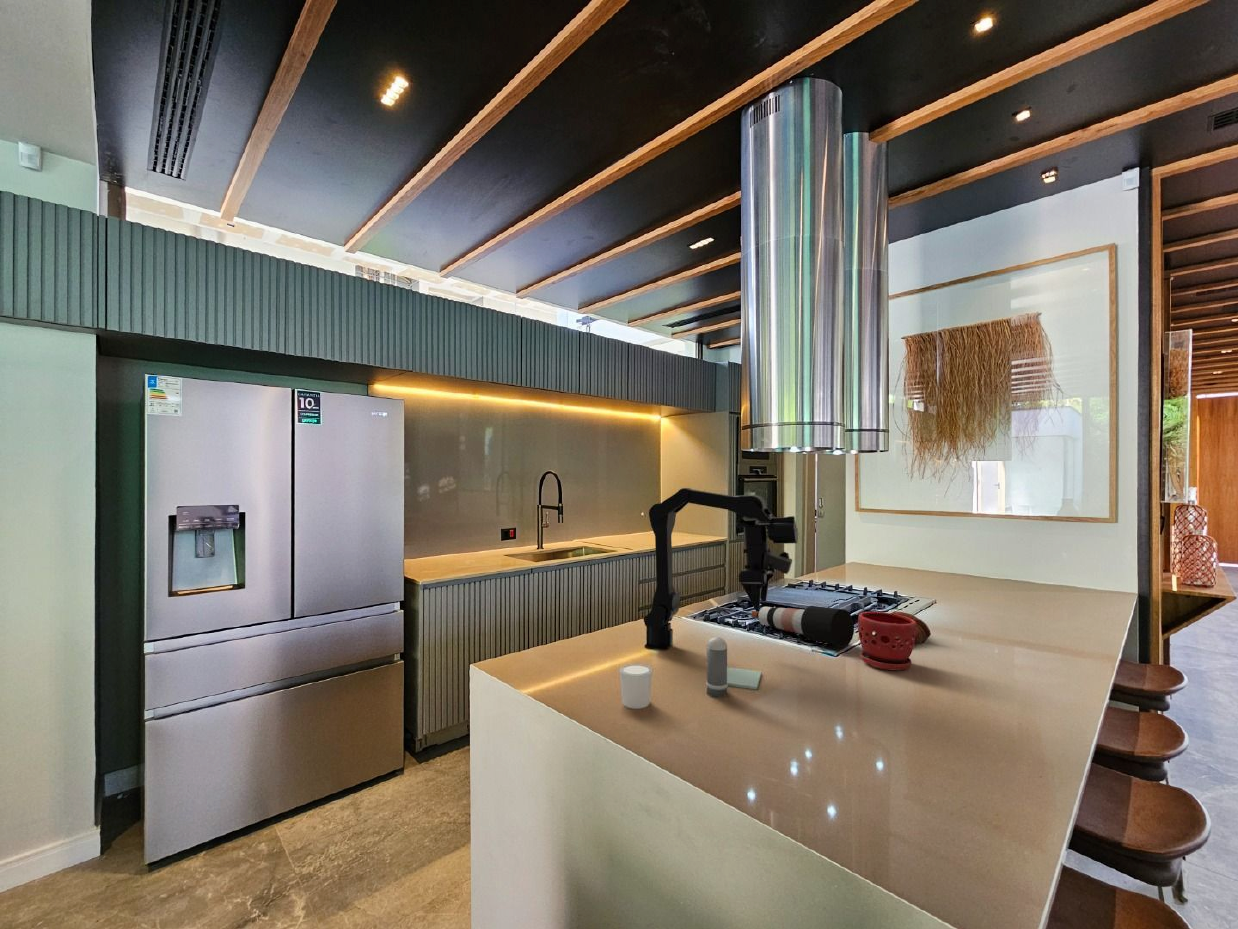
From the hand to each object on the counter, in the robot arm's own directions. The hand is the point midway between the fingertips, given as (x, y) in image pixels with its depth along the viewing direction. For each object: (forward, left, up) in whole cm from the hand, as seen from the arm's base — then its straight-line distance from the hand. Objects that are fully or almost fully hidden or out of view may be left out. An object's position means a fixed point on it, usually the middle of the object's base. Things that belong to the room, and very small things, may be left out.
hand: (760, 604), depth 140 cm
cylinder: (-7, -25, -14) cm, 29 cm away
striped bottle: (+7, +28, -15) cm, 32 cm away
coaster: (-4, -15, -14) cm, 21 cm away
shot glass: (-22, -36, -15) cm, 44 cm away
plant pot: (+30, +8, -15) cm, 34 cm away
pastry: (+37, +35, -15) cm, 53 cm away
